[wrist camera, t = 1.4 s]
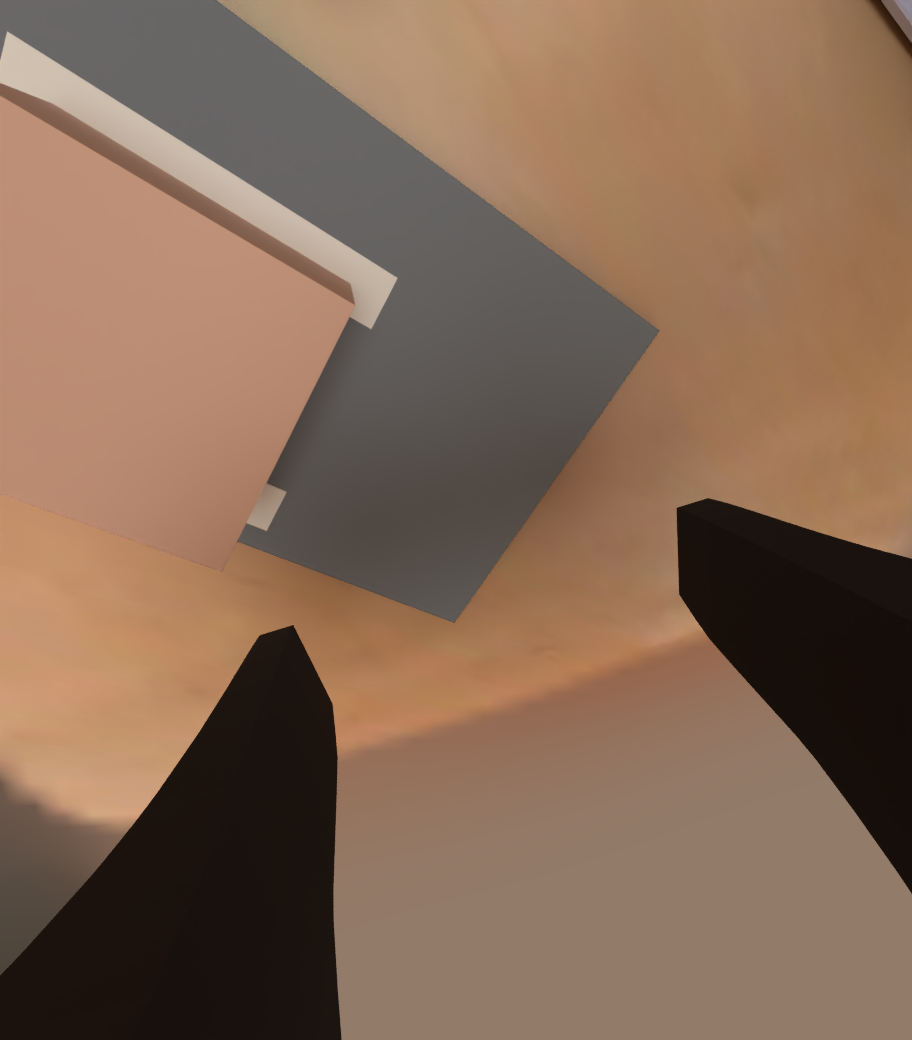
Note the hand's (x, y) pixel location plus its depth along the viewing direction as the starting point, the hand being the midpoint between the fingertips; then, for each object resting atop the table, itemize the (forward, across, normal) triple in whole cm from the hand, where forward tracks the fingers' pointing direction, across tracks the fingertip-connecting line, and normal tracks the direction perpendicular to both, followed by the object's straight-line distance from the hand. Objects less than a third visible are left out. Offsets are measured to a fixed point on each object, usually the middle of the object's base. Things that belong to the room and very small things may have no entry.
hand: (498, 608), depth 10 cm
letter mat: (+8, +3, -4) cm, 10 cm away
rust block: (+8, +6, -5) cm, 11 cm away
